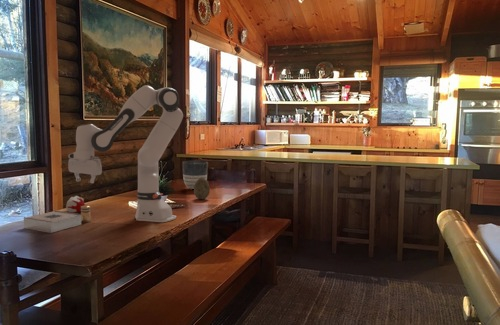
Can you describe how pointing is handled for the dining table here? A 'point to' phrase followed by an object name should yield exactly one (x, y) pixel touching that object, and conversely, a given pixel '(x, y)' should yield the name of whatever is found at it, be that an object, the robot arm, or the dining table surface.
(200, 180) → the decorative egg
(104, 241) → the dining table surface
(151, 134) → the robot arm
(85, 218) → the small beige jar
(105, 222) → the dining table surface
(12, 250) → the dining table surface
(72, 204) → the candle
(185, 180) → the planter
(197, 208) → the dining table surface
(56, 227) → the bore block
